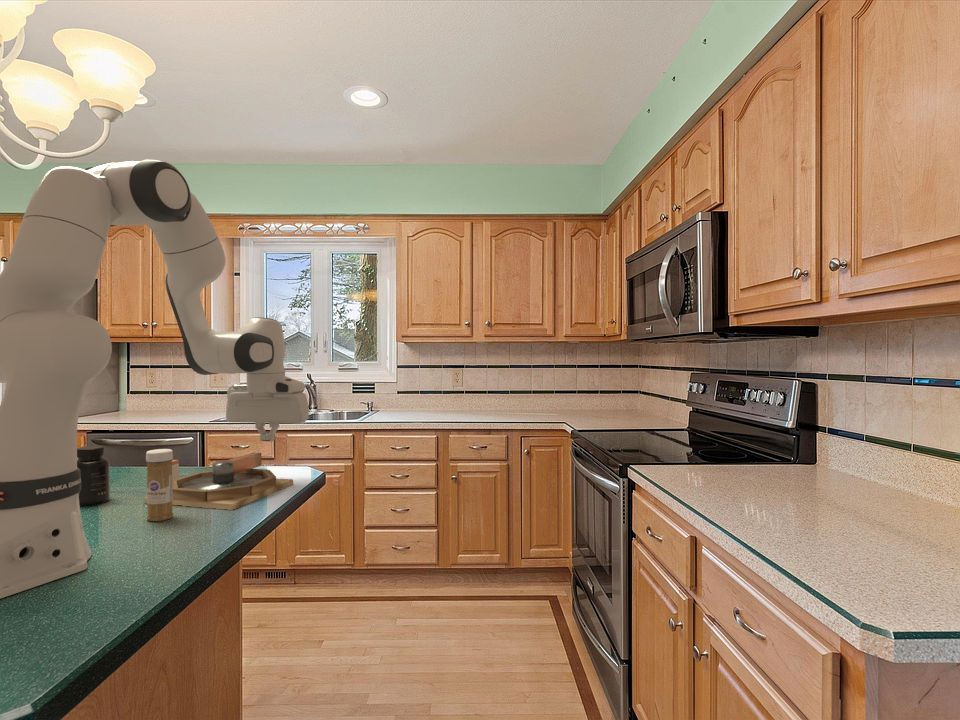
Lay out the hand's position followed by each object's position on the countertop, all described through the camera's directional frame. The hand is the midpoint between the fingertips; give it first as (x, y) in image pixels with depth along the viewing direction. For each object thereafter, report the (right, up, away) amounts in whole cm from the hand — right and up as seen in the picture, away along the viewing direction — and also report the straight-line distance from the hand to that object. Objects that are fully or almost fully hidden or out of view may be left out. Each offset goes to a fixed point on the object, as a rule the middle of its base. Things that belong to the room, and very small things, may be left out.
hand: (267, 440), depth 135 cm
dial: (-7, -9, -6) cm, 13 cm away
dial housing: (-7, -11, -8) cm, 15 cm away
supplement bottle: (-33, -11, -15) cm, 38 cm away
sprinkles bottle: (-11, -12, -27) cm, 31 cm away
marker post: (-21, -11, -5) cm, 24 cm away
